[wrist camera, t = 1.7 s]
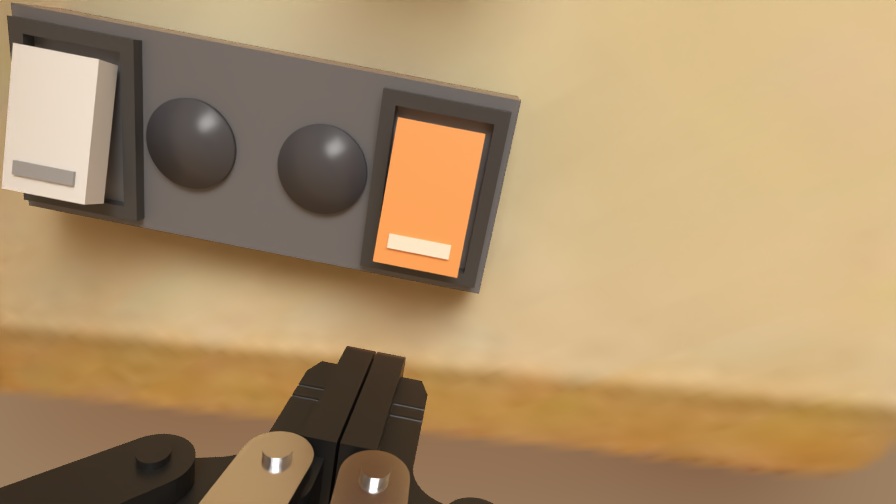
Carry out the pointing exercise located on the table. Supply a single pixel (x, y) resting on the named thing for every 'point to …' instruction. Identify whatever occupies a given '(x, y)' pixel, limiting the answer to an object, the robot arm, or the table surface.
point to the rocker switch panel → (265, 142)
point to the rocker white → (58, 125)
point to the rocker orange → (428, 197)
